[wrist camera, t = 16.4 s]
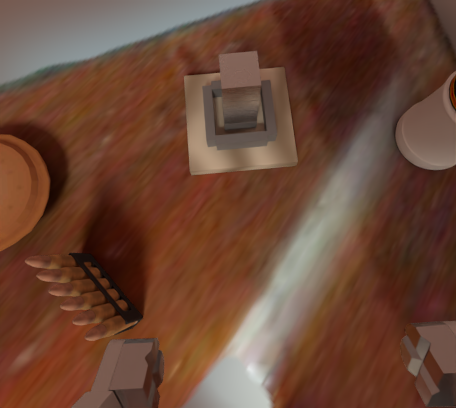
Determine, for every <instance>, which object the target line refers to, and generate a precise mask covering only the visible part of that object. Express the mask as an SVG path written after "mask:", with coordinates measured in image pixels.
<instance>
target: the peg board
mask: <svg viewBox="0 0 456 408" xmlns="http://www.w3.org/2000/svg"><path fill="white" fill-rule="evenodd" d="M259 71H260V79H261V91H260V99H259V106H258V114H257V125H256V129H255V130H249V131H238V132H227V133H225V127H224V116H223V105H222V89H221V77H220V73H212V74H201V75H190V76H184V83H185V99H186V116H187V132H188V149H189V165H190V173H191V175H198V174H209V173H221V172H232V171H243V170H254V169H265V168H276V167H287V166H296V164H297V162H298V159H297V152H296V145H295V138H294V131H293V124H292V117H291V110H290V103H289V96H288V89H287V82H286V75H285V68H284V67H277V68H266V69H259Z"/></svg>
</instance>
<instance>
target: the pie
mask: <svg viewBox="0 0 456 408" xmlns="http://www.w3.org/2000/svg"><path fill="white" fill-rule="evenodd" d="M50 181H51V180H50V177H49V173H48V170H47V166H46V164H45V162H44V160H43V159H42V157H41V155H40V154H39V152H38V151H37V150H36V149H35V148H33V147H32V146H31V145H29V144H28V143H27V142H25V141H23V140H21V139H19V138H17V137H14V136H12V135H7V134H0V251H2V250H4V249H6V248H7V247H9V246H11V245H13V244H15V243H16V242H18V241H19V240H20V239H21V238H23V237H24V236H25V235H27V234H28V233H29V232H31V231H32V230H33V228H34V227H35V225H36V224H37V223H38V221H39V220H40V218H41V217H42V215H43V213H44V210H45V207H46V205H47V202H48V199H49V192H50Z"/></svg>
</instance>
